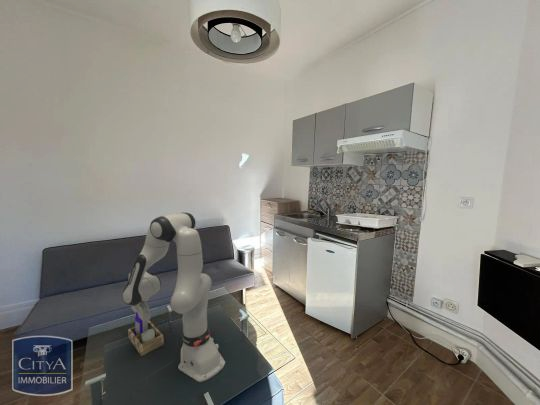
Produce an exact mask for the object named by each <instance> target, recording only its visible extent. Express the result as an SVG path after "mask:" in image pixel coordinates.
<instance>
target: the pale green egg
mask: <svg viewBox="0 0 540 405" xmlns="http://www.w3.org/2000/svg"><path fill="white" fill-rule="evenodd" d="M154 338H155V331H154V329H148V330H145V331H144V332H143V333H142V344H144V343H146V342H148V341H150V340H152V339H154Z"/></svg>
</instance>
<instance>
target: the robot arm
mask: <svg viewBox="0 0 540 405" xmlns="http://www.w3.org/2000/svg"><path fill="white" fill-rule="evenodd" d="M195 228H196V218H195V217H194V215H192V214H191V213H189V212H178V213H169V214H166V215H161V216H157V217H156V218H154V219H153V220H151V221H150V224H149V226H148V230H147V232H146V236H145V241H144V245H143V247H142V249H141V251H140V253H139V254H138V255H137V256H136V258H135V259H134V260H135V261H134V263H133V265H132V268H131V271H130V272H129V273H128V279H127V280H128V281H127V283H126V285H125V287H124V288H123V291H122V295H121V297H122V301H123V302H124V304H126V305H129V306H130V307H131V310H132V311H133V312H134V313H135V314H136V312H137V313H138V316H139V318H140V319H141V320H142V325H143V326H146V325H147V323H146V322H147V321H151V309H150V305H148V304H147V302H148V301H149V300H150V297H152V296H154V295H155V294H157V293H159V292H160V291H161V288H162V281H161V278H160V277H158V276H157V275H152V274H150V273H148V272H147V270H148V269H149V268H150V267H152V266H153V265H154V264H155V263H157V262H158V261H160V260H162V259H164V257H165V256H166V255H167V252H168V250H169V248H170V243H171V242H172V241H173V242H174V243H175V245H176V257H177V277H176V282H175V283H176V284H175V287H174V288H175V289H174V291H173V294H172V296H171V298H170V306H171V308H172V310H173V311H174V312H175V313H177V314H179V315H182V341H183V343H182V346H181V348H180V363H179V364H178V370H179V371H180V372H183V373H184V374H185V375H187V376H188V377H190V378H192V380H195V381H196V382H197V383H198V382H199V383H202V382H205V381H207V380H209V379H211V378H213V377H214V376H216V375H217V374H218V373H219V372H220V371H221V370H223V368H224V367H225V365H226V361H225V359H224V357H223V356H222V355H221V353H220V352H219V350H218V349H219V348H220V346H219V343H215V342H214V337H211V333H210V329H209V326H208V314H207V313H208V312H207V311H208V303H209V297H210V291H211V287H212V284H213V282H212V279H211V277H210V276H209V275H208V274H206V273H202V271H203V268H204V260H203V248H202V240H201V237H200V233H199V232H198V230H197V229H195Z"/></svg>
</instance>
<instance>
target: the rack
mask: <svg viewBox="0 0 540 405" xmlns="http://www.w3.org/2000/svg"><path fill="white" fill-rule="evenodd" d="M148 329H154V331H155V338H154V339H152V340H150V341H148V342H146V343H144V344H142V333H141V334H139V335H137V336H136V335H135V326H132V327H130V328H128V330H127V332H128V333H127V334H128V339H129V341H130V342H131V344H132V345H133V347H134V348H135V350H137V352H138V354H139V355H140V356H141V357H142V356H145V355H146V354H148V353H150V352H152V351H154V350H155V349H156V350H157V348H160V347H161V346H163V345H165V341H164V340H165V339H164V334H163V333H162V332H161V331H160V330H159V329H158V328H157V326H155V325H154V323H153V322H152V321H151V320H148Z"/></svg>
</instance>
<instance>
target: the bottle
mask: <svg viewBox="0 0 540 405" xmlns="http://www.w3.org/2000/svg"><path fill="white" fill-rule="evenodd" d="M134 320H135V321H134V324H135V325H134V327H135V335H136V336H137V335H139V334H141V333H143V332H144V331H145V330H148V321H149V320H148V321H147V322H146V323H147V325H146V326H143V325H142V320H141V319H140V318H139V316H138V313H137V312H136V313H135V317H134Z"/></svg>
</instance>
